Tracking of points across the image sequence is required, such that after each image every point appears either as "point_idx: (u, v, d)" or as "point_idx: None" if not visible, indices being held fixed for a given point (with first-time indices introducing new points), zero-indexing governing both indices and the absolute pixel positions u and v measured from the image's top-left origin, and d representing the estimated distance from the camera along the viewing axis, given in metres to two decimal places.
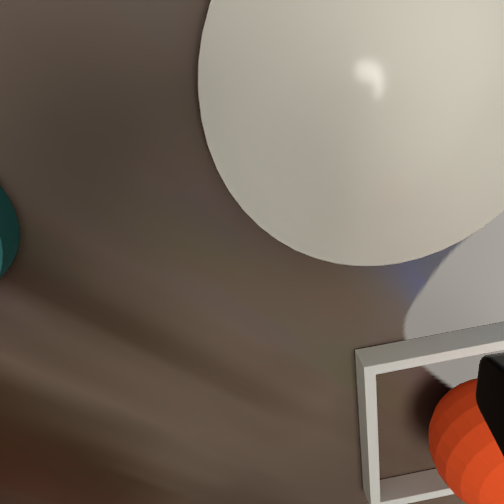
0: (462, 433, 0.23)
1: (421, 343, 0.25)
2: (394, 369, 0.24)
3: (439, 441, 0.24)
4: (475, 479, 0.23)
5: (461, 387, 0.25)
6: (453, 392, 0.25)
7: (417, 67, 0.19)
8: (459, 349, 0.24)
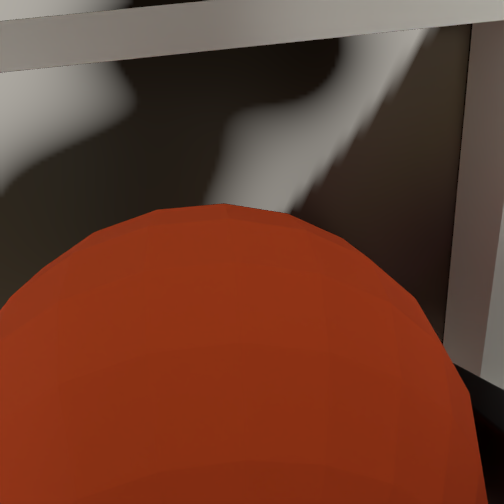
0: None
1: None
2: None
3: None
4: None
5: None
6: None
7: None
8: None
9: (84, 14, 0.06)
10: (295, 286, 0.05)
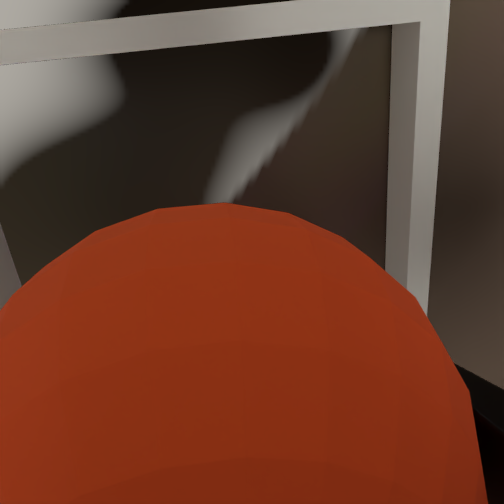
0: None
1: None
2: None
3: None
4: None
5: None
6: None
7: None
8: None
9: (111, 19, 0.09)
10: (295, 285, 0.05)
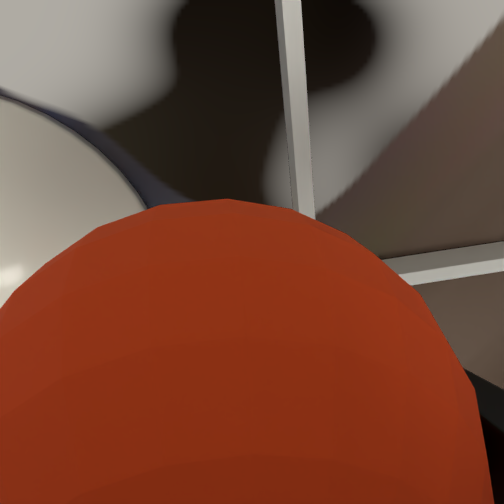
0: None
1: None
2: None
3: None
4: None
5: None
6: None
7: None
8: (297, 181, 0.17)
9: None
10: (301, 280, 0.04)
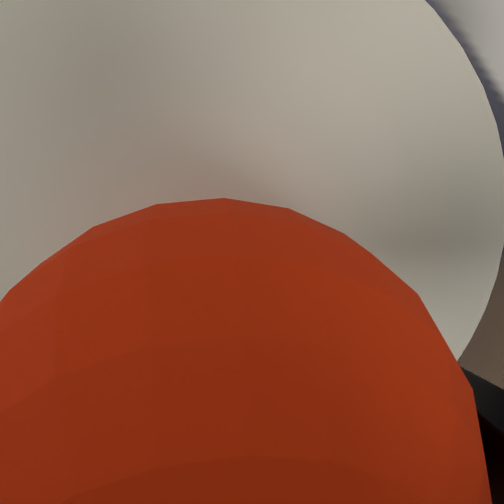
0: None
1: None
2: None
3: None
4: None
5: None
6: None
7: None
8: None
9: None
10: (296, 279, 0.04)
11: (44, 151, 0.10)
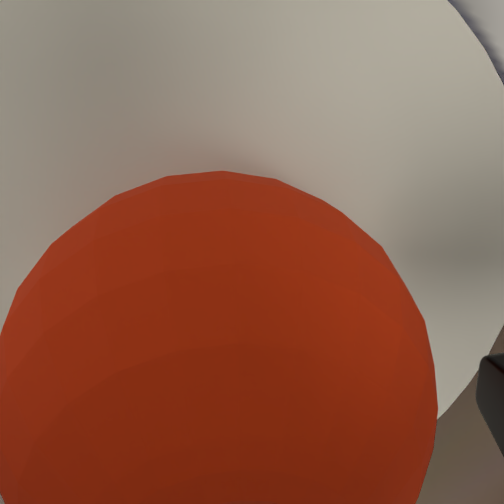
0: None
1: None
2: None
3: None
4: None
5: None
6: None
7: None
8: None
9: None
10: (278, 226, 0.06)
11: (42, 159, 0.10)
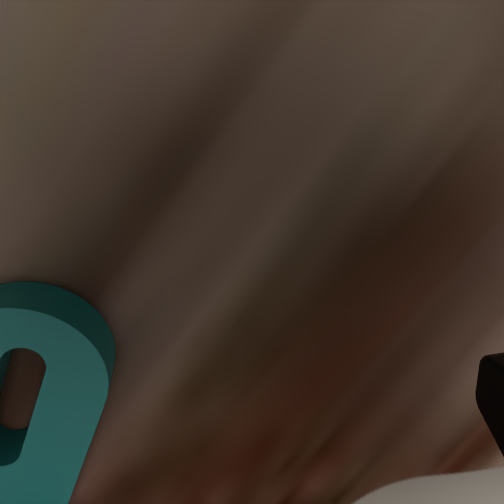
0: None
1: None
2: None
3: None
4: None
5: None
6: None
7: None
8: None
9: None
10: None
11: None
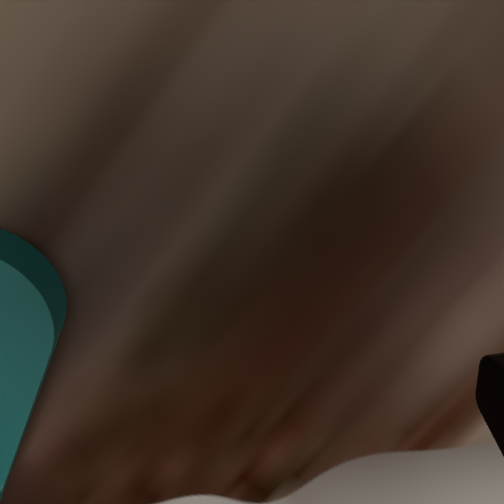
0: None
1: None
2: None
3: None
4: None
5: None
6: None
7: None
8: None
9: None
10: None
11: None
